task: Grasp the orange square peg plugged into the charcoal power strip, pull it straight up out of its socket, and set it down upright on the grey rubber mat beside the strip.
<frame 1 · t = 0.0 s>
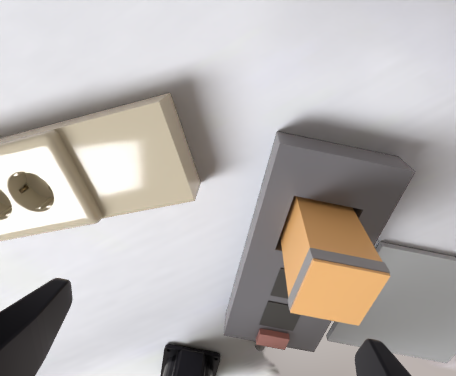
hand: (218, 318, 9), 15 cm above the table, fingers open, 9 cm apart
power strip: (296, 249, 26), on the table
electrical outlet: (84, 162, 24), on the table
mat: (415, 306, 28), on the table
orange square peg: (312, 215, 23), resting on power strip
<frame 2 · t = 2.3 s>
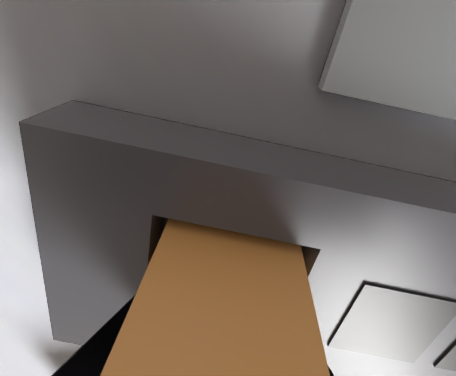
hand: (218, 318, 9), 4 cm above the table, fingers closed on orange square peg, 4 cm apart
power strip: (322, 262, 12), on the table
orange square peg: (226, 251, 11), resting on power strip, touching gripper
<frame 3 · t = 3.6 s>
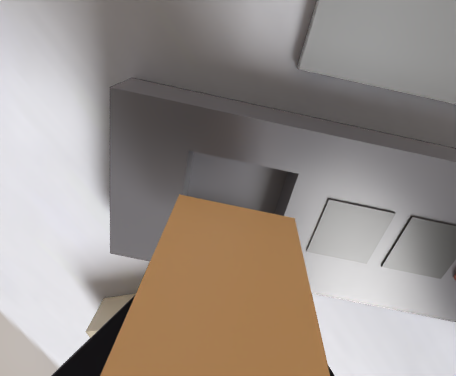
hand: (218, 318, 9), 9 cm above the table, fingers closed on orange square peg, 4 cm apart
power strip: (304, 198, 16), on the table
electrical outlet: (189, 358, 26), on the table
orange square peg: (226, 250, 11), point 6 cm above the table, touching gripper
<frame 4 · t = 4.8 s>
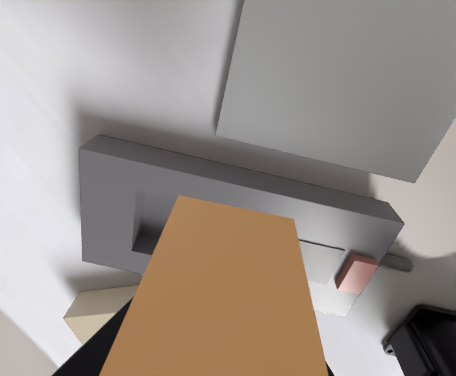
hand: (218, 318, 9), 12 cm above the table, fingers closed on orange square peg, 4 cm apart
power strip: (231, 222, 22), on the table
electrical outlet: (152, 343, 31), on the table
mat: (358, 47, 16), on the table
orange square peg: (225, 251, 11), point 9 cm above the table, touching gripper
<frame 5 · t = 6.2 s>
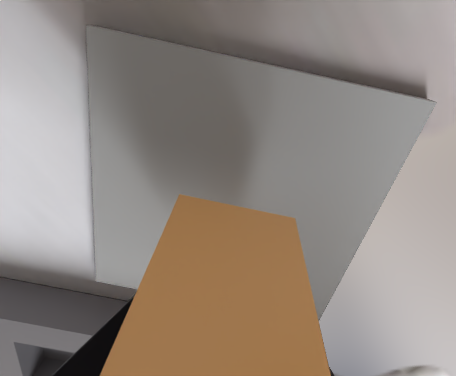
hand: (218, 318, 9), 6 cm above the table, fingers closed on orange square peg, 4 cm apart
power strip: (138, 346, 20), on the table
mat: (230, 204, 14), on the table
orange square peg: (226, 250, 11), point 3 cm above the table, touching gripper
when the fingers open (5 cm above the table, at t = 7.2 s): orange square peg drops 1 cm, resting on mat.
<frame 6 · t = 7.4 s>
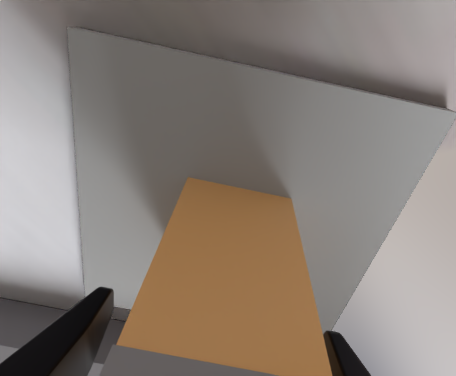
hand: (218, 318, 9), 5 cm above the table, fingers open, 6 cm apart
power strip: (131, 366, 19), on the table
mat: (229, 221, 13), on the table
orange square peg: (229, 229, 13), point 1 cm above the table, touching mat
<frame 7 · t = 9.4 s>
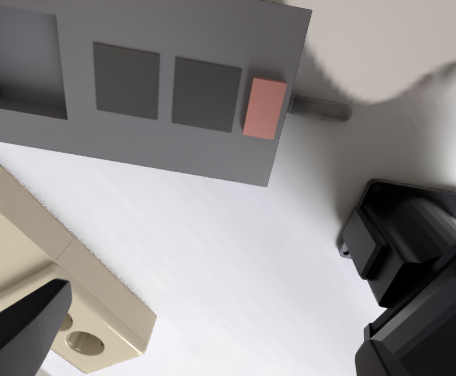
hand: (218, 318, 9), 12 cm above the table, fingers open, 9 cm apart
power strip: (112, 70, 17), on the table
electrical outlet: (64, 263, 26), on the table
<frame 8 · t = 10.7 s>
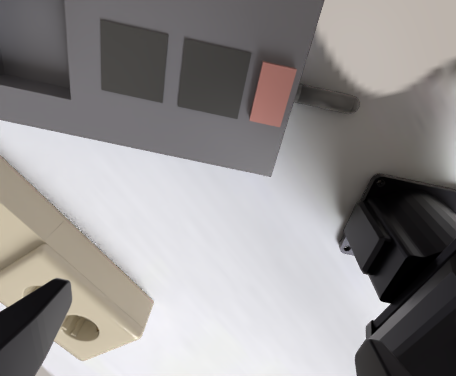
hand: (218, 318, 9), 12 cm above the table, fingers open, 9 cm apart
power strip: (118, 52, 17), on the table
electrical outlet: (58, 247, 25), on the table
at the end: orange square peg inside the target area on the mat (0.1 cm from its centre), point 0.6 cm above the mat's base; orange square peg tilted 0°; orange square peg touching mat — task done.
